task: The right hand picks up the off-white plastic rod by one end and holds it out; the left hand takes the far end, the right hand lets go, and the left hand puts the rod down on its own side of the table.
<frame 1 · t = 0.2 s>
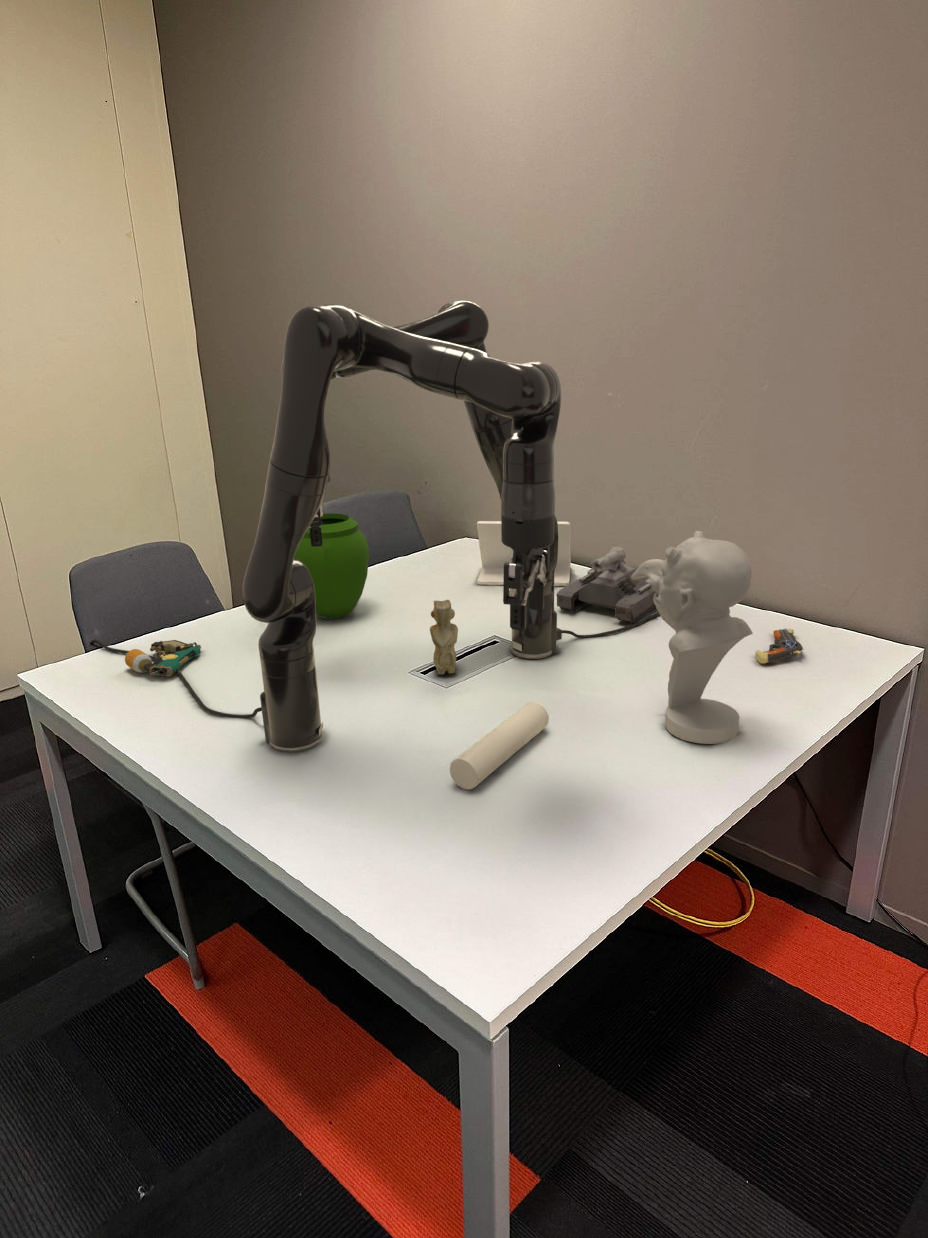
left hand: (527, 618, 125), 29 cm above the table, tool pointing down, fingers open, 8 cm apart
right hand: (316, 540, 170), 29 cm above the table, tool pointing down, fingers open, 8 cm apart
toy gun: (775, 650, 185), on the table
tablet stand: (525, 575, 239), on the table
spray gun: (167, 664, 187), on the table
vase: (334, 614, 214), on the table
sculpture: (445, 671, 180), on the table
toy: (615, 605, 214), on the table
bust sculpture: (681, 722, 155), on the table
rod: (502, 756, 145), on the table
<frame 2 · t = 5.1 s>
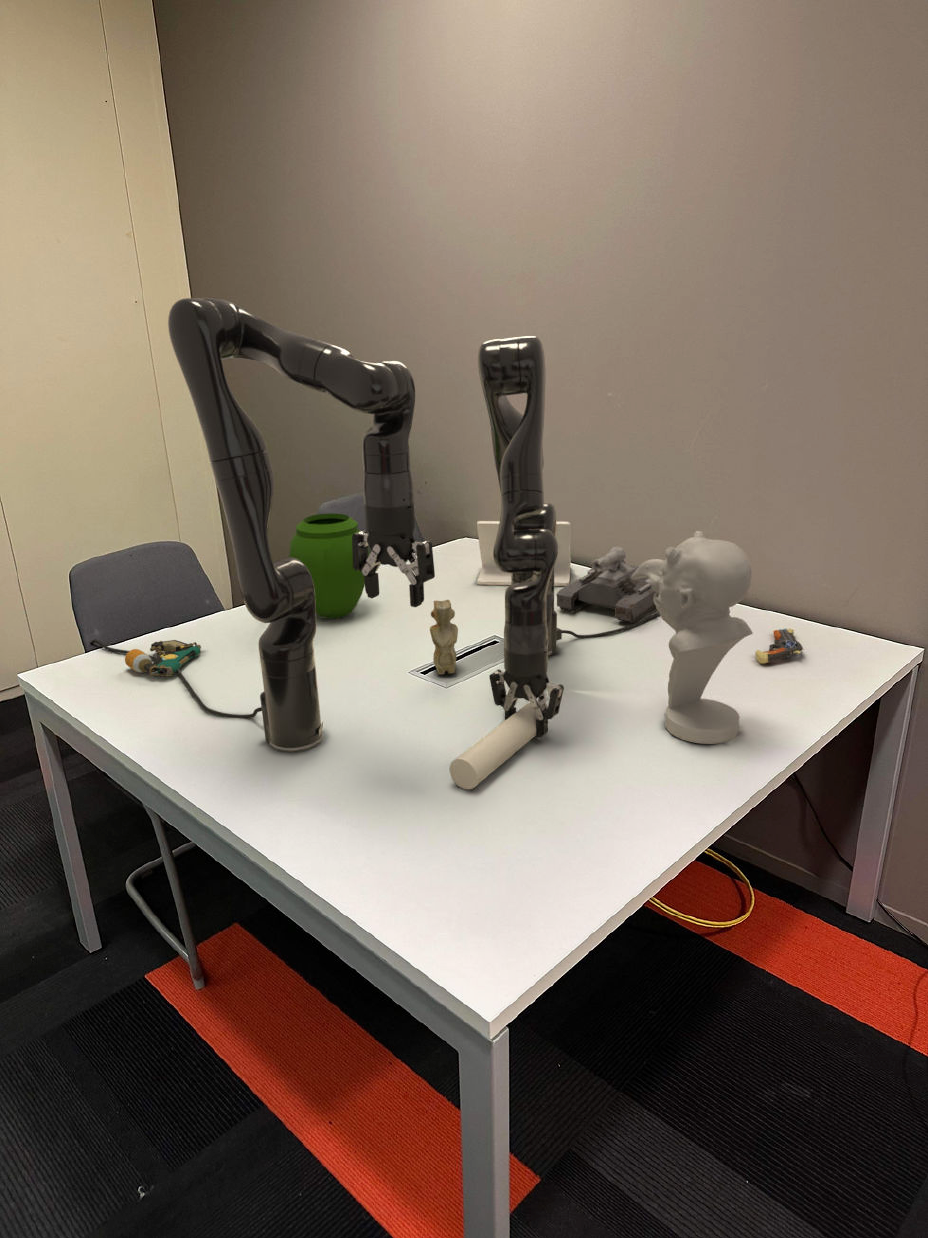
left hand: (394, 601, 134), 29 cm above the table, tool pointing down, fingers open, 8 cm apart
right hand: (526, 731, 151), 1 cm above the table, tool pointing down, fingers closed on rod, 5 cm apart
rod: (502, 757, 145), on the table, touching right hand
everything else where it was.
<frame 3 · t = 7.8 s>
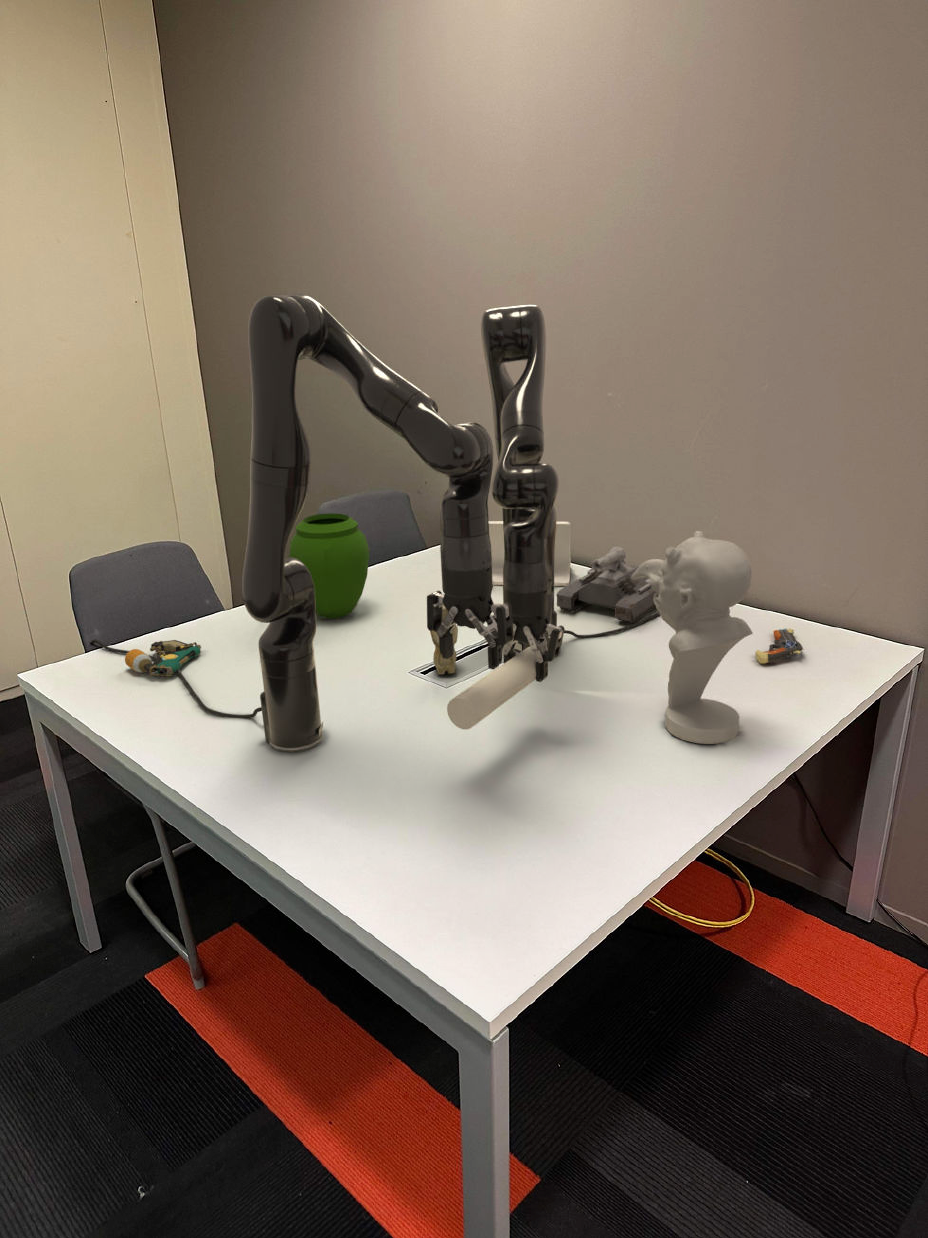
left hand: (470, 662, 132), 21 cm above the table, tool pointing down, fingers open, 8 cm apart
right hand: (525, 676, 148), 12 cm above the table, tool pointing down, fingers closed on rod, 5 cm apart
rod: (501, 699, 142), point 11 cm above the table, touching right hand
everything else where it was.
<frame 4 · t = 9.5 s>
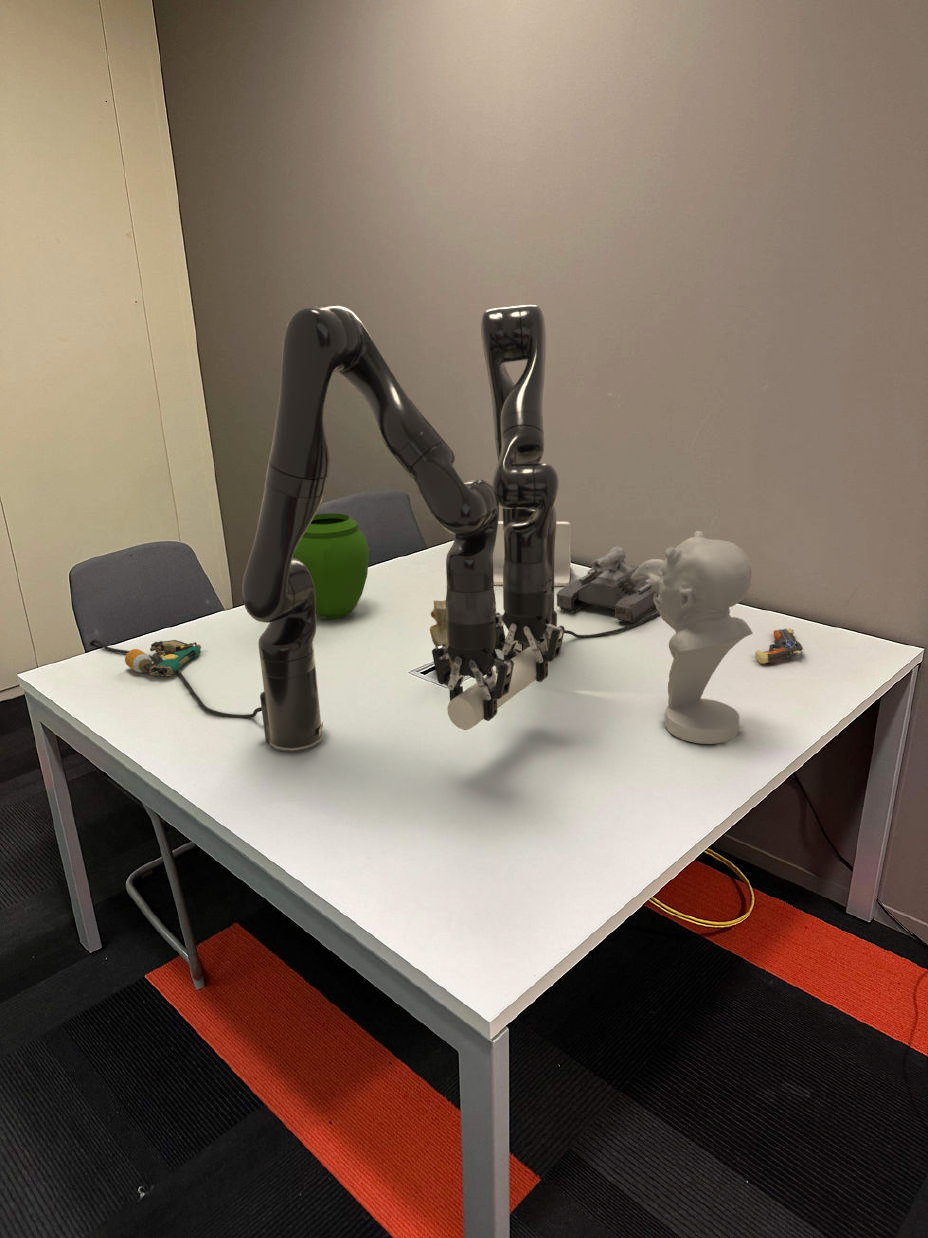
left hand: (473, 713, 135), 12 cm above the table, tool pointing down, fingers closed on rod, 5 cm apart
right hand: (525, 676, 148), 12 cm above the table, tool pointing down, fingers closed on rod, 5 cm apart
rod: (501, 700, 142), point 11 cm above the table, touching right hand, left hand
everything else where it was.
when the right hand's fingers open (12 cm above the table, at t = 10.5 s): rod stays where it is, held by the left hand.
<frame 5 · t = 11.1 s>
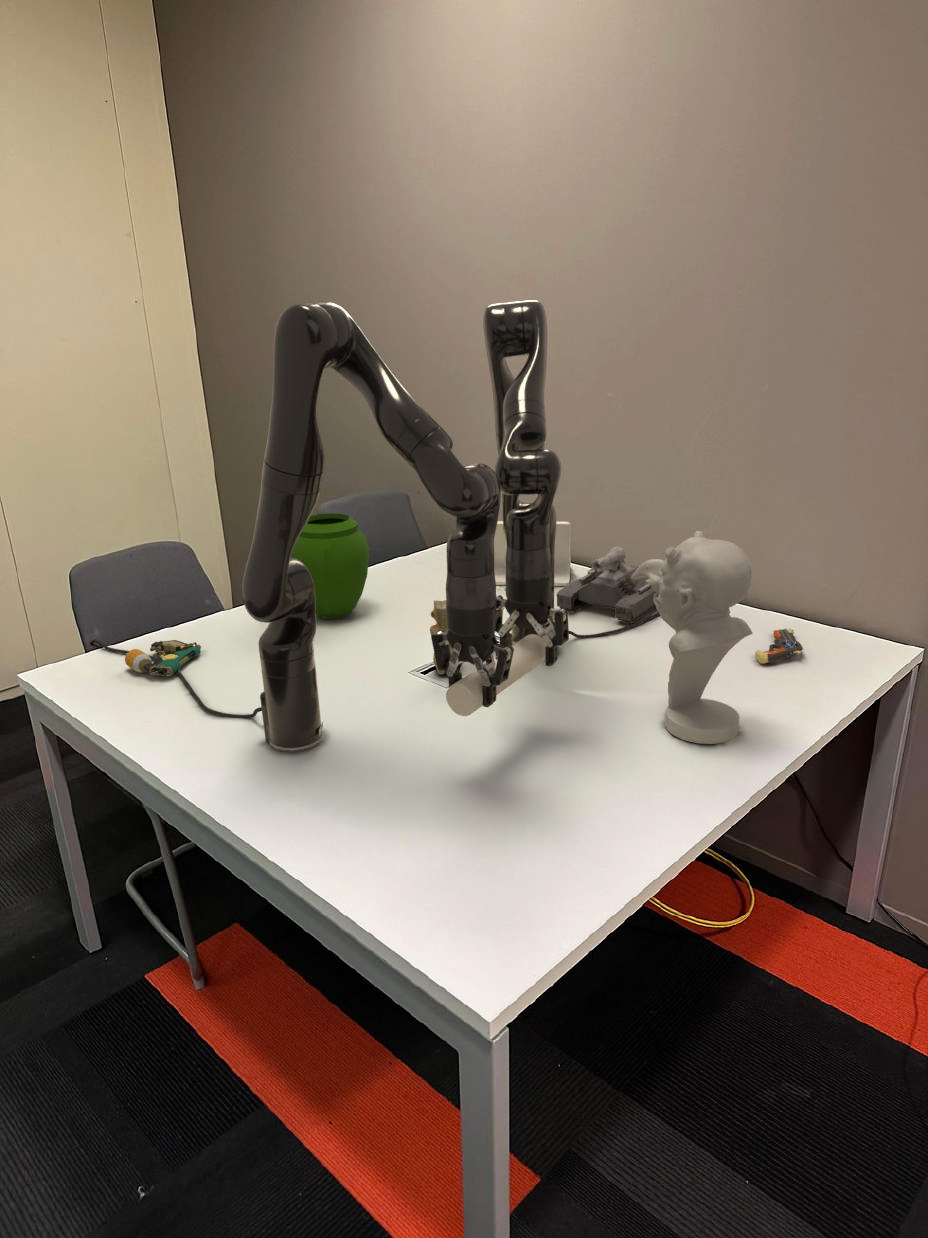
left hand: (472, 700, 134), 14 cm above the table, tool pointing down, fingers closed on rod, 5 cm apart
right hand: (528, 659, 148), 14 cm above the table, tool pointing down, fingers open, 8 cm apart
rod: (500, 687, 141), point 13 cm above the table, touching left hand
everything else where it was.
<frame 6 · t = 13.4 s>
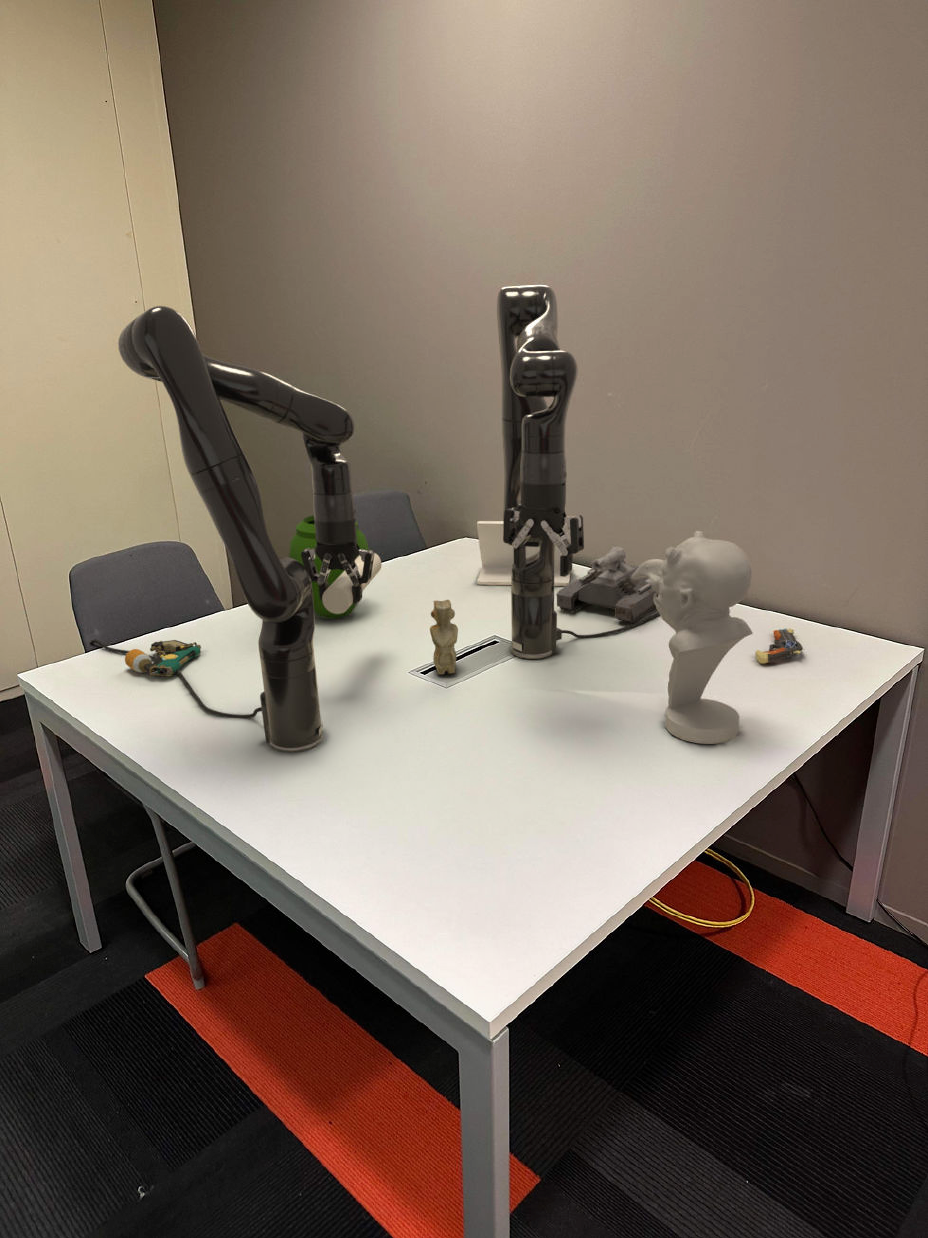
left hand: (341, 602, 162), 20 cm above the table, tool pointing down, fingers closed on rod, 5 cm apart
right hand: (542, 571, 146), 29 cm above the table, tool pointing down, fingers open, 8 cm apart
rod: (354, 593, 170), point 19 cm above the table, touching left hand
everything else where it was.
when the left hand's fingers open (2 cm above the table, at t = 17.6 s): rod drops 2 cm, on the table.
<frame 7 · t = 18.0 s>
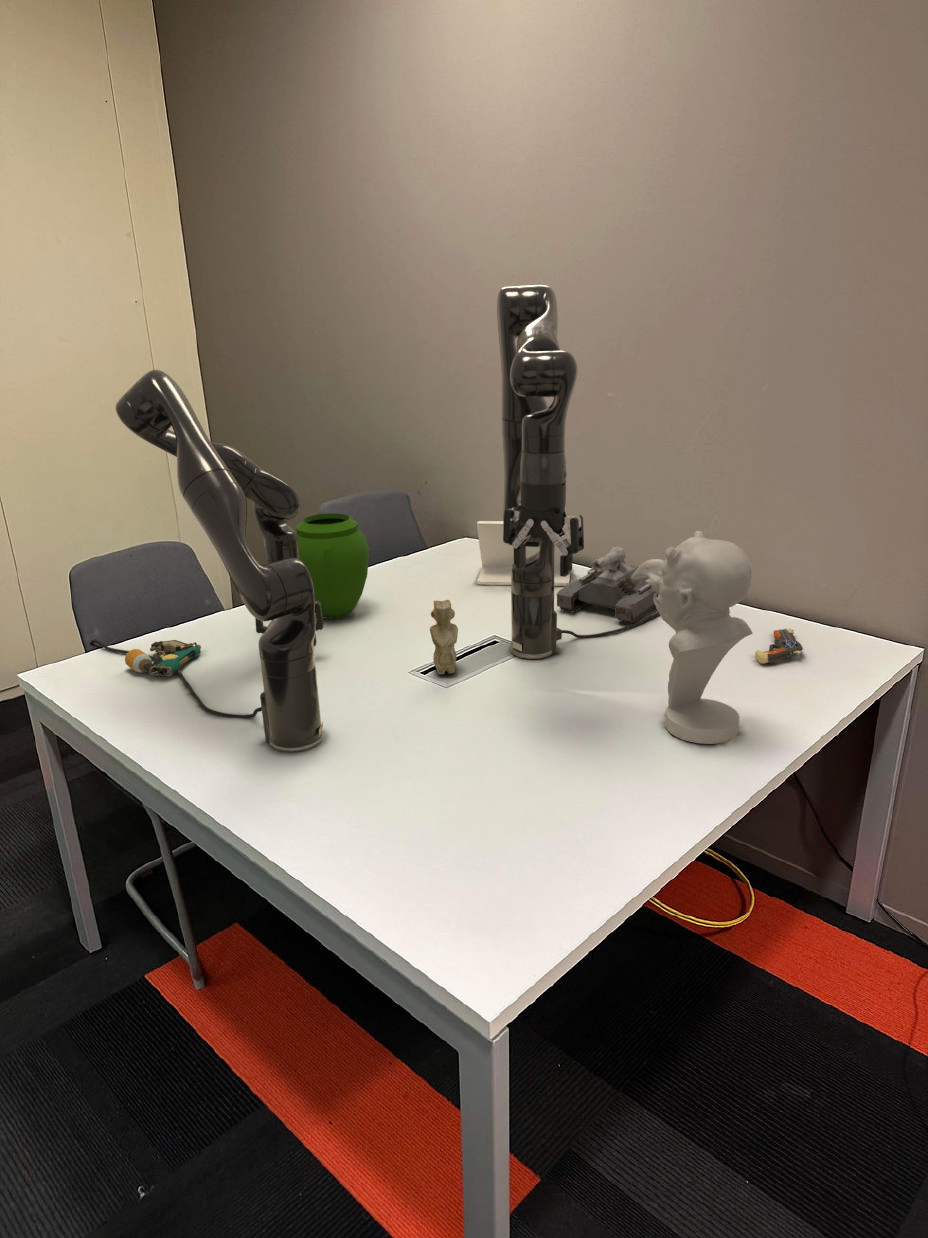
left hand: (292, 648, 186), 3 cm above the table, tool pointing down, fingers open, 8 cm apart
right hand: (542, 571, 146), 29 cm above the table, tool pointing down, fingers open, 8 cm apart
rod: (297, 645, 195), on the table
everything else where it was.
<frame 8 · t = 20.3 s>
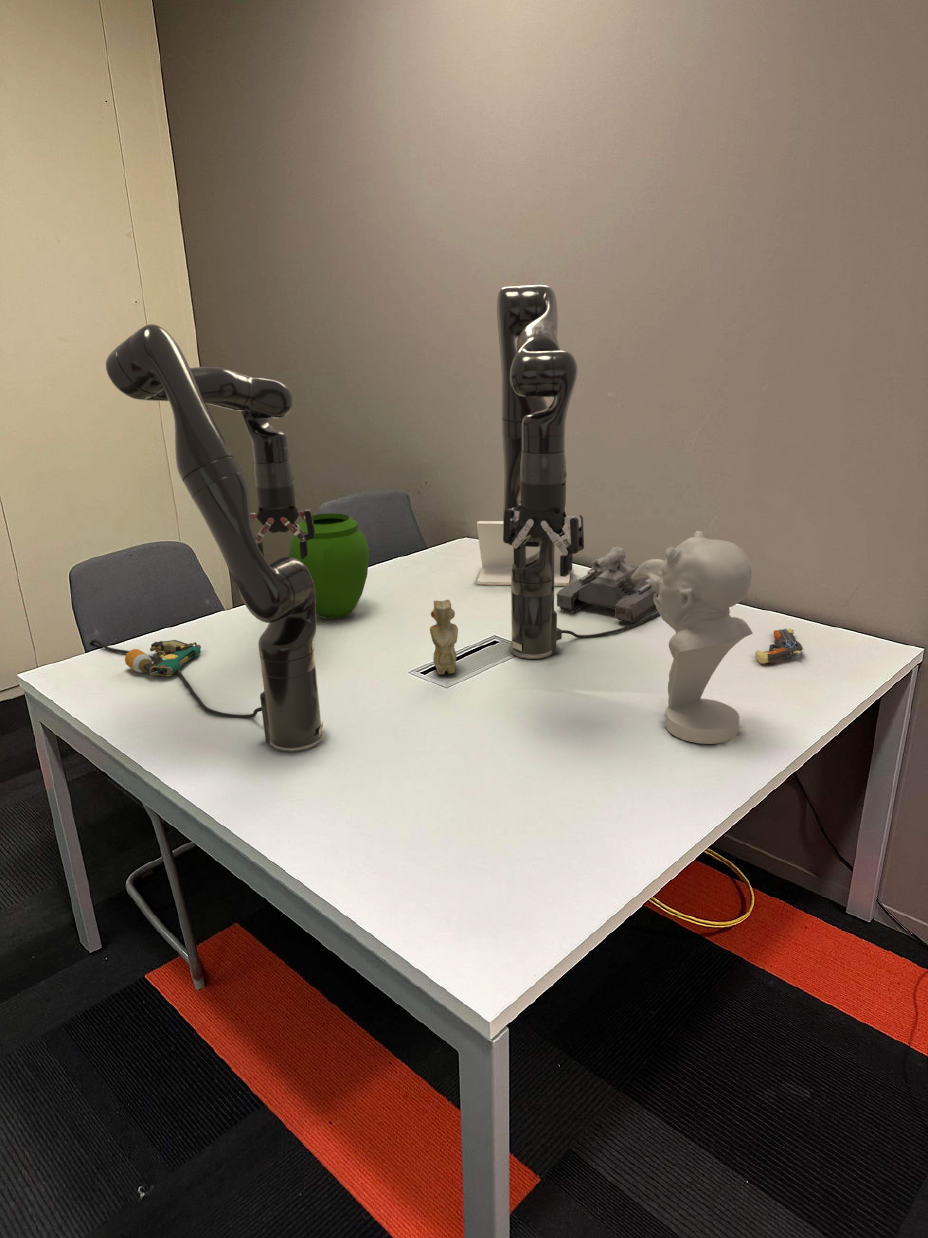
left hand: (282, 559, 179), 23 cm above the table, tool pointing down, fingers open, 8 cm apart
right hand: (542, 571, 146), 29 cm above the table, tool pointing down, fingers open, 8 cm apart
nothing on the table moved.
at the end: rod inside the target area (8.8 cm from its centre), on the table; the left hand is holding nothing; the right hand is holding nothing; rod at rest at the end (0.0 cm/s) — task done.
